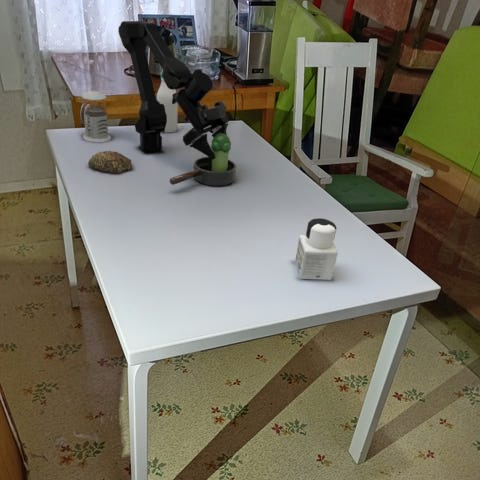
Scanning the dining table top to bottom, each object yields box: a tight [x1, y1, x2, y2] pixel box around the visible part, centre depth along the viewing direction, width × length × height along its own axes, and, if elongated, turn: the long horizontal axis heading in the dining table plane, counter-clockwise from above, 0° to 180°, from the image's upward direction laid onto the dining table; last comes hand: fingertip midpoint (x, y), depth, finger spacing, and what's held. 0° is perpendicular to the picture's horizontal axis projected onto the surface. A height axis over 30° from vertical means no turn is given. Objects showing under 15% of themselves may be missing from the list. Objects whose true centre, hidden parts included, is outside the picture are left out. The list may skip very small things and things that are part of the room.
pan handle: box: [169, 169, 202, 186], centre depth 154 cm, size 13×2×2 cm, turn 140°
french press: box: [79, 59, 112, 143], centre depth 175 cm, size 10×12×25 cm
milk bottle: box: [156, 71, 179, 133], centre depth 191 cm, size 8×8×20 cm
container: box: [294, 217, 339, 281], centre depth 122 cm, size 8×8×13 cm
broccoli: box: [210, 133, 232, 172], centre depth 159 cm, size 7×7×14 cm
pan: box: [192, 156, 237, 187], centre depth 163 cm, size 13×13×4 cm
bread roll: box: [87, 150, 133, 175], centre depth 163 cm, size 13×12×5 cm
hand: (222, 154), depth 159 cm, fingers open, 9 cm apart
